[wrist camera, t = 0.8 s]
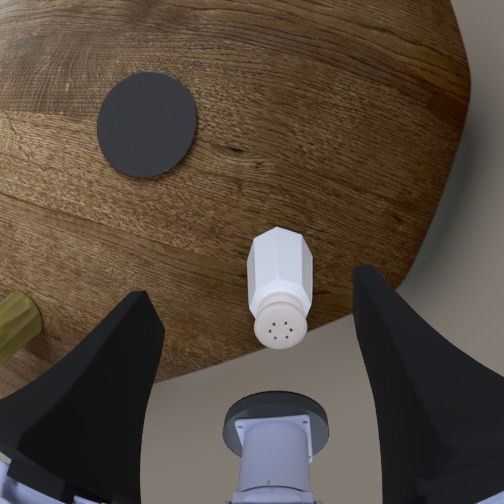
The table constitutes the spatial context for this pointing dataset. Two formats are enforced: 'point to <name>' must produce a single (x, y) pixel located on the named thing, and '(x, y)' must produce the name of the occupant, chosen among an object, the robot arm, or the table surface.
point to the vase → (17, 323)
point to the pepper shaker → (280, 287)
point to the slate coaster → (147, 124)
